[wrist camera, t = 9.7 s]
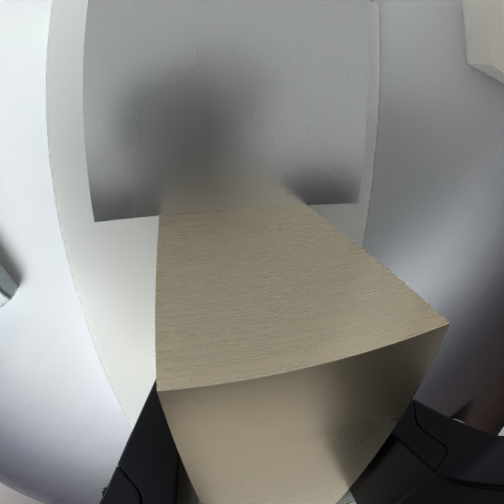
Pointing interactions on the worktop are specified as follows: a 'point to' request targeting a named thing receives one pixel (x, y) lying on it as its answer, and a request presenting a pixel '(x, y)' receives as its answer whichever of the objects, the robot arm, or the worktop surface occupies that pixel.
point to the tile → (485, 36)
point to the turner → (254, 237)
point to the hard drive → (6, 286)
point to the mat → (143, 228)
